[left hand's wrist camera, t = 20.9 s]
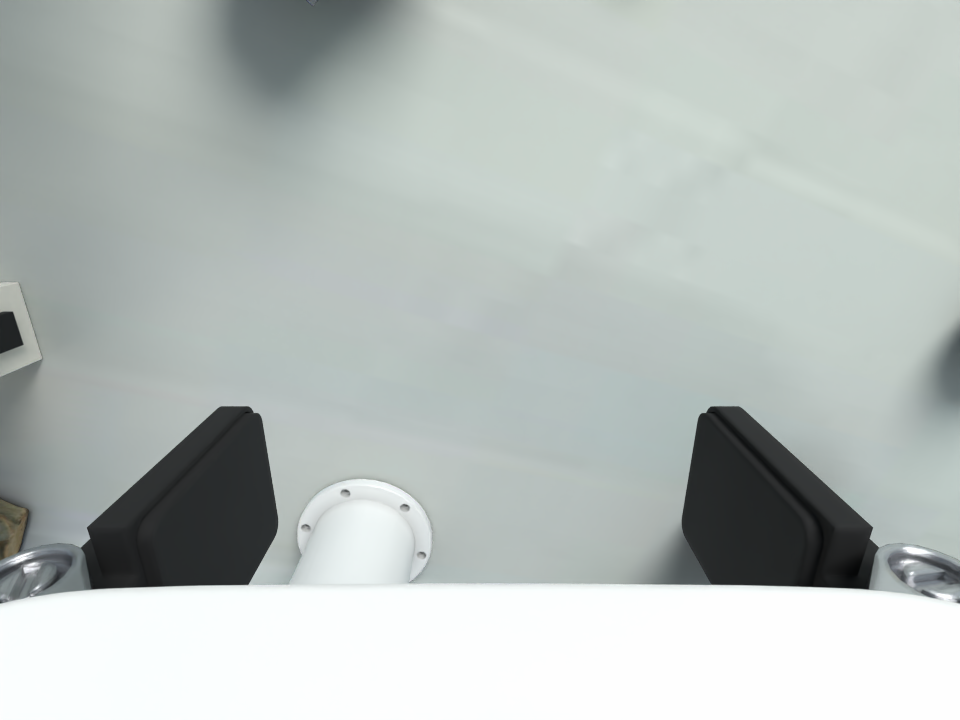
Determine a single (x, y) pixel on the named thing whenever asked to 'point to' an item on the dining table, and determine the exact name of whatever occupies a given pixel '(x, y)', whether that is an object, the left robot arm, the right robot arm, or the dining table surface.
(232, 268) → the dining table surface
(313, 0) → the toy
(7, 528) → the statue
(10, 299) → the brick
